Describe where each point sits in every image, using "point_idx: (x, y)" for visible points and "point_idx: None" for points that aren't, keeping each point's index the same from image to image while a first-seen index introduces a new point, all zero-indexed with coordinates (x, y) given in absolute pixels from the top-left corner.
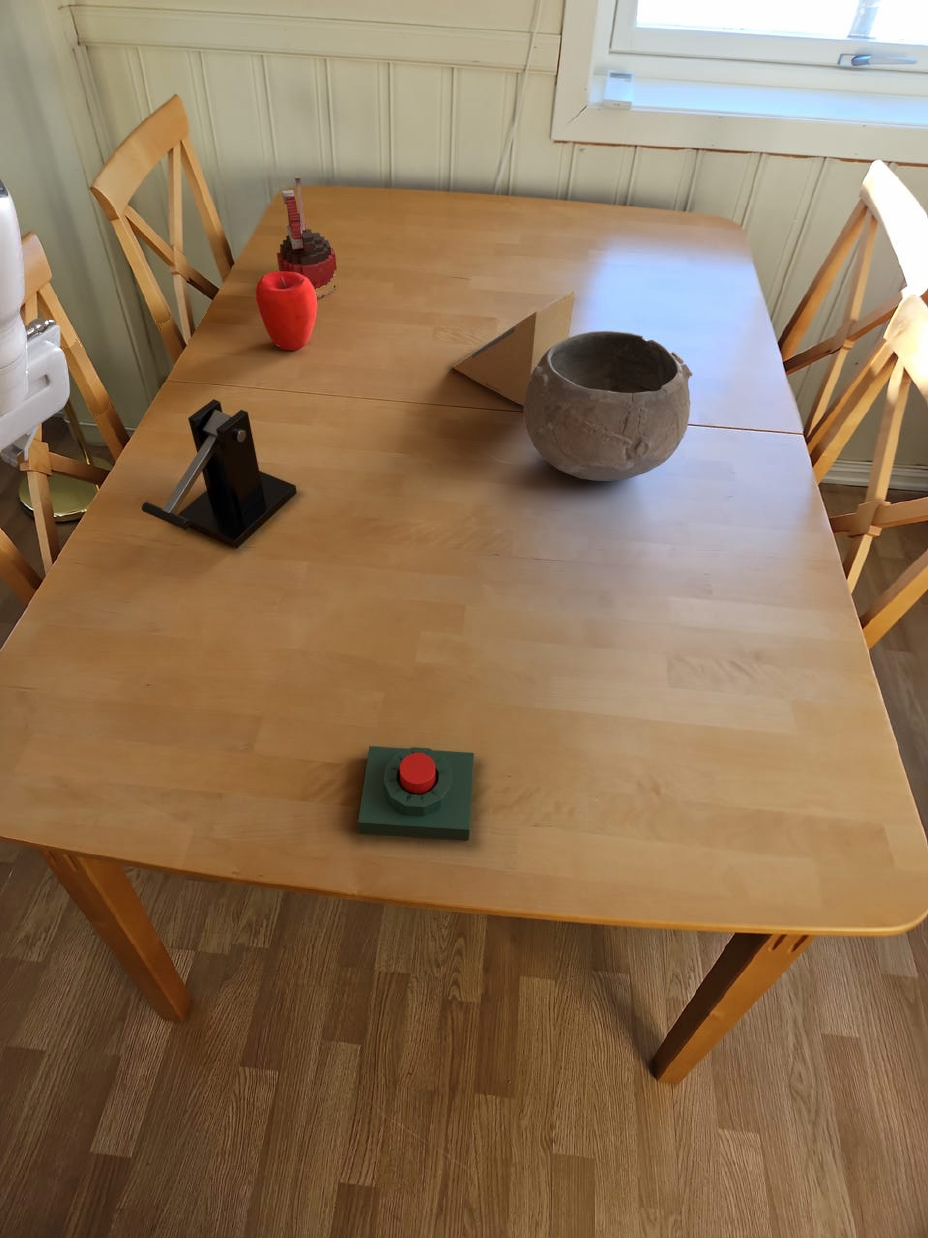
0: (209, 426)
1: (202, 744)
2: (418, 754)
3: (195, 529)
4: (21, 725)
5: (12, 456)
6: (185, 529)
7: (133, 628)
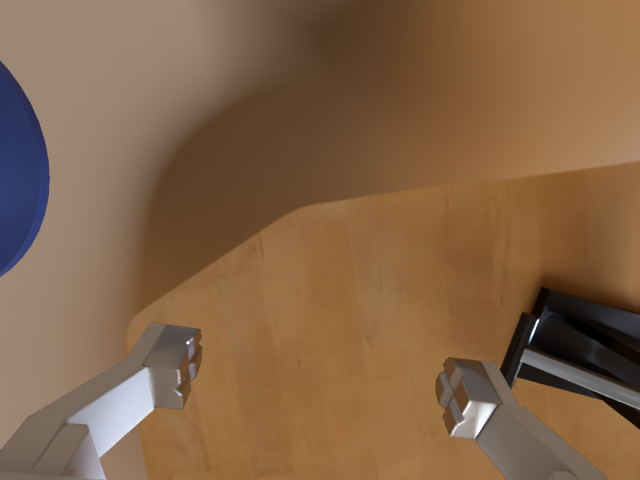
0: None
1: (251, 436)
2: None
3: (532, 312)
4: (219, 270)
5: (448, 413)
6: None
7: (364, 314)
